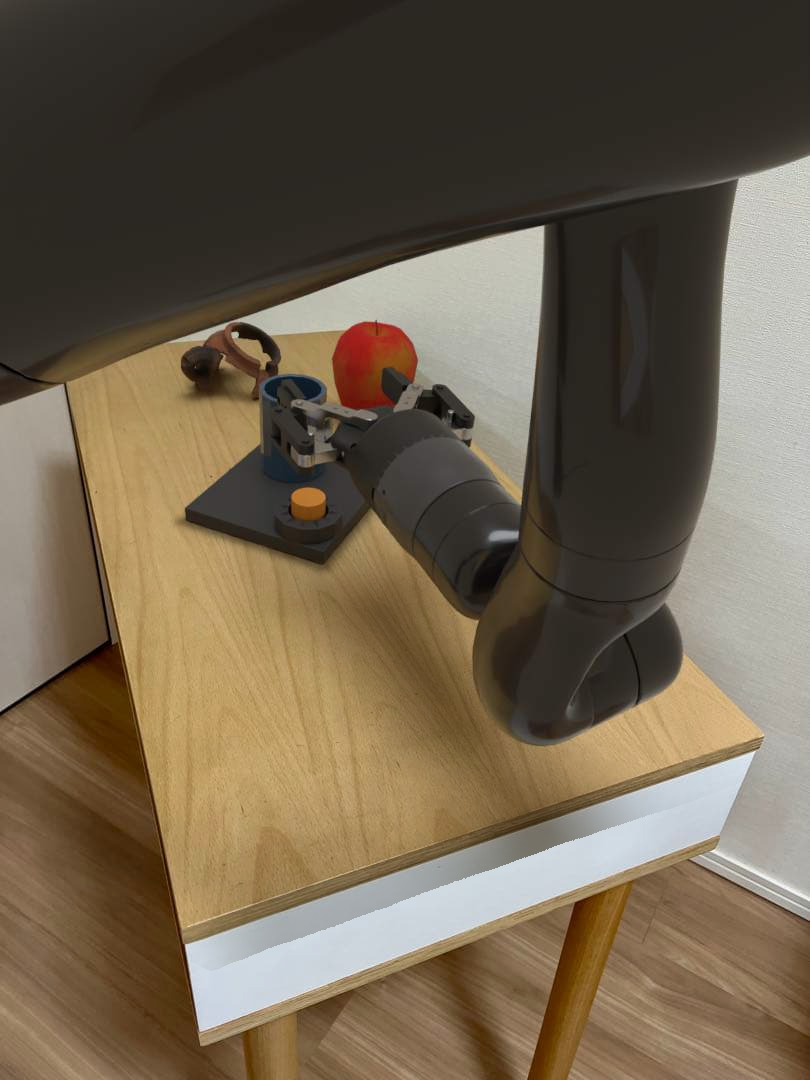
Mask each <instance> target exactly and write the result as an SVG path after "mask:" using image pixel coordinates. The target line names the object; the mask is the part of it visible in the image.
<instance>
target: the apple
mask: <svg viewBox="0 0 810 1080" xmlns="http://www.w3.org/2000/svg"><path fill="white" fill-rule="evenodd" d="M331 363H332V373H333V383H334V385H335V386H334V387H335V389H336V393H337V395H338V399H339V402H340V405H341V406H344V407H347V408H350V409H369V408H373V407H376V406H380V405H387V404H388V406H392V407H395V405H394V404H393V403H392V402H391V400H390V399H389V398H388V397H387V396H386V395H385V394H384V393H383V392H382V388H381V383H382V370H383V368H385V367H393V368H394V369H395V370H396V371H397V372H401V373H403V374H404V375H405V376H406V377H407V378H408V379H409V380H410V381H411V382H413V383H415V379H416V374H417V368H418V363H419V358H418V355H417V352H416V348H415V345H414V343H413V341H412V340H411V339H410V338H409V336H408V335H407V333H406V332H405V331H404V330H403V329H402V328H400V327H398V326H396V325H393V324H389V323H385V322H384V323H383V322H378V320H377V318H376V319H375V321H366V320H365V321H362V322H358V323H355V324H352V326H350V327H349V328H348V329H346V330H345V331H344V332H343V333H342V334H341V335H340V336H339V338H338V340H337V343H336V346H335V347H334V351H333V354H332V357H331Z"/></svg>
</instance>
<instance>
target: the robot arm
mask: <svg viewBox="0 0 810 1080" xmlns="http://www.w3.org/2000/svg"><path fill="white" fill-rule="evenodd" d="M808 157H810V0H0V407H2V406H5V405H8V404H11V403H13V402H17V401H19V400H21V399H25V398H28V397H30V396H33V395H35V394H38V393H41V392H44V391H47V390H50V389H52V388H53V389H54V388H55V387H58V386H61V385H64V384H67V383H69V382H73V381H75V380H78V379H81V378H83V377H85V376H87V375H89V374H92V373H94V372H97V371H99V370H101V369H103V368H106V367H109V366H111V365H114V364H115V363H118V362H121V361H122V360H125V359H127V358H130V357H132V356H135V355H138V354H140V353H143V352H146V351H148V350H150V349H154V348H156V347H159V346H162V345H165V344H167V343H170V342H172V341H173V342H174V341H176V340H179V339H182V338H186V337H188V336H192V335H194V334H197V333H201V332H203V331H206V330H210V329H212V328H216V327H218V326H221V325H225V324H229V323H232V322H235V321H237V320H239V319H243V318H246V317H249V316H252V315H254V314H258V313H260V312H264V311H266V310H269V309H272V308H274V307H275V308H276V307H278V306H280V305H281V306H282V305H284V304H287V303H289V302H292V301H295V300H298V299H301V298H304V297H306V296H310V295H311V294H314V293H318V292H319V291H322V290H324V289H328V288H330V287H333V286H335V285H338V284H341V283H343V282H344V283H345V282H346V281H349V280H352V279H355V278H357V277H358V278H359V277H361V276H364V275H367V274H370V273H372V272H375V271H378V270H381V269H384V268H386V267H389V266H392V265H397V264H399V263H402V262H406V261H409V260H413V259H416V258H419V257H425V256H427V255H431V254H434V253H437V252H442V251H445V250H449V249H453V248H457V247H461V246H466V245H469V244H473V243H476V242H481V241H484V240H489V239H493V238H496V237H501V236H505V235H510V234H513V233H518V232H522V231H526V230H531V229H535V228H539V227H543V248H542V249H543V250H542V251H543V253H542V274H541V275H542V276H541V291H540V292H541V293H540V307H539V321H538V332H537V333H538V334H537V346H536V358H535V368H534V380H533V389H532V400H531V407H530V408H531V409H530V418H529V428H528V437H527V445H526V456H525V463H524V464H525V465H524V473H523V481H522V493H521V503H519V502H518V501H517V499H515V498H514V496H512V494H510V492H508V491H507V490H506V489H505V487H504V486H503V485H502V484H501V482H500V481H499V479H498V478H497V476H496V475H495V473H494V472H493V471H492V469H491V468H490V467H489V466H488V465H487V464H486V463H485V462H484V461H483V460H482V459H481V458H480V457H479V456H478V455H477V454H476V453H475V452H474V451H473V450H472V449H471V447H472V441H473V440H472V439H473V434H474V428H475V427H474V426H475V419H476V416H475V414H474V413H473V412H472V411H471V410H470V409H469V408H468V407H467V406H466V405H465V404H464V403H463V402H462V401H461V399H459V397H458V396H457V395H456V394H455V393H454V392H453V391H452V390H451V389H450V388H449V387H448V386H447V385H445V384H442V383H435V384H433V385H432V387H431V389H425V388H424V386H423V385H422V384H420V383H416V382H414V383H413V382H411V381H410V380H409V379H408V378H407V377H406V376H405V375H404V374H403V373H401V372H397V371H396V370H395V369H394V368H393V367H385V368H383V370H382V383H381V388H382V392H383V393H384V394H385V395H386V396H387V397H388V398H389V399H390V400H391V402H392V403H393V404H394V405H395V407H392V406H388V404H387V405H380V406H376V407H373V408H369V409H350V408H347V407H344V406H341V404H338V403H334V402H331V401H327V402H326V403H325V404H324V405H322V406H321V405H318V404H315V403H312V402H309V401H307V398H306V397H305V396H304V394H303V393H302V392H301V391H300V389H299V388H298V387H297V386H296V384H295V383H294V382H293V381H292V379H289V380H282V382H281V387H278V388H277V406H276V407H272V408H271V409H270V417H271V434H270V440H271V442H272V443H273V444H274V446H275V447H276V448H277V449H278V451H279V452H280V453H281V454H282V456H283V457H284V458H285V459H286V461H287V462H288V463H289V464H290V465H291V467H292V468H293V469H294V470H295V472H296V473H297V474H298V475H300V476H303V477H308V476H311V475H313V474H314V465H316V464H321V463H326V462H330V461H333V462H334V463H335V464H337V465H339V466H341V467H343V468H345V469H346V470H348V472H349V474H350V476H351V478H352V480H353V482H354V484H355V486H356V488H357V489H358V491H359V492H360V494H361V495H362V496H363V498H364V499H365V500H366V502H367V503H368V504H369V506H370V508H371V510H372V511H373V512H374V514H375V515H376V516H377V517H378V519H379V520H380V522H381V523H382V525H384V527H385V528H386V529H387V531H388V532H389V533H390V535H391V536H392V537H393V539H394V540H395V542H397V543H398V545H399V546H400V547H401V548H402V549H403V550H404V551H405V552H406V553H407V554H408V555H409V556H411V558H413V559H414V560H415V561H416V562H417V563H418V565H419V566H420V567H421V568H422V570H423V571H424V572H425V574H426V575H427V576H428V577H429V579H430V580H431V582H432V583H433V584H434V586H435V587H436V588H437V590H438V591H439V592H440V594H441V595H442V596H443V597H444V599H445V600H446V601H447V602H448V603H449V605H450V606H451V608H453V610H455V611H456V612H457V613H458V614H460V615H461V616H463V617H465V618H468V619H471V620H473V621H477V622H478V623H477V625H476V629H475V633H474V639H473V643H472V653H471V661H472V662H471V663H472V676H473V682H474V687H475V690H476V695H477V698H479V702H480V704H481V706H482V708H483V710H484V711H485V713H486V715H487V716H488V718H489V719H490V720H491V722H492V723H493V724H494V725H495V727H497V728H498V729H499V730H500V731H501V732H502V733H503V734H505V735H506V736H508V737H509V738H511V739H513V740H514V741H516V742H519V743H520V744H524V745H526V746H527V745H528V746H531V747H541V748H542V747H544V748H545V747H551V746H557V745H559V744H562V743H566V742H568V741H570V740H572V739H574V738H576V737H578V736H580V735H582V734H584V733H586V732H588V731H589V730H591V729H593V728H595V727H598V726H600V725H602V724H604V723H606V722H608V721H611V719H612V720H613V718H616V717H618V716H620V715H622V714H624V713H625V712H627V711H629V710H631V709H634V708H636V707H638V706H640V705H641V704H644V703H646V702H648V701H649V700H652V699H653V698H655V697H657V696H659V695H660V694H662V693H663V692H665V691H666V690H667V689H669V687H671V686H672V685H673V684H674V682H675V681H676V680H677V679H678V677H679V674H680V672H681V669H682V666H683V661H684V641H683V636H682V633H681V629H680V626H679V623H678V620H677V619H676V617H675V615H674V613H673V611H672V609H671V608H670V606H669V604H668V603H667V600H668V599H669V597H670V595H671V594H672V591H673V590H674V588H675V586H676V584H677V582H678V579H679V576H680V573H681V571H682V568H683V565H684V562H685V561H686V556H687V554H688V551H689V548H690V545H691V542H692V539H693V536H694V532H695V530H696V527H697V524H698V521H699V519H700V515H701V512H702V508H703V505H704V502H705V500H706V495H707V491H708V488H709V485H710V480H711V476H712V471H713V464H714V460H715V451H716V446H717V433H718V421H719V401H720V381H721V350H722V349H721V348H722V317H723V313H722V312H723V298H724V297H723V296H724V281H725V268H726V267H725V266H726V258H727V257H726V256H727V251H728V250H727V249H728V244H729V236H730V229H731V223H732V222H731V221H732V214H733V209H734V204H735V200H736V194H737V188H738V185H739V181H740V179H742V178H747V177H749V176H753V175H757V174H760V173H764V172H767V171H771V170H773V169H776V168H777V169H778V168H780V167H783V166H787V165H789V164H791V163H794V162H796V161H799V160H802V159H805V158H808ZM308 416H309V417H312V418H314V419H315V421H316V428H315V427H312V426H309V425H308ZM334 420H335V421H339V422H338V424H337V426H336V429H335V430H334Z"/></svg>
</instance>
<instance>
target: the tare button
mask: <svg viewBox="0 0 810 1080" xmlns="http://www.w3.org/2000/svg"><path fill="white" fill-rule="evenodd" d="M325 509H326V496H325V494H324V493H323V492H322V491H321V490H318V489H315V488H301V489H298V490H296V491H295V492H293V494H292V496H291V513H292V516H293V517H294V518H295V519H297V520H301V521H317V520H320V519H322V518H323V517H324V516H325Z"/></svg>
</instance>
